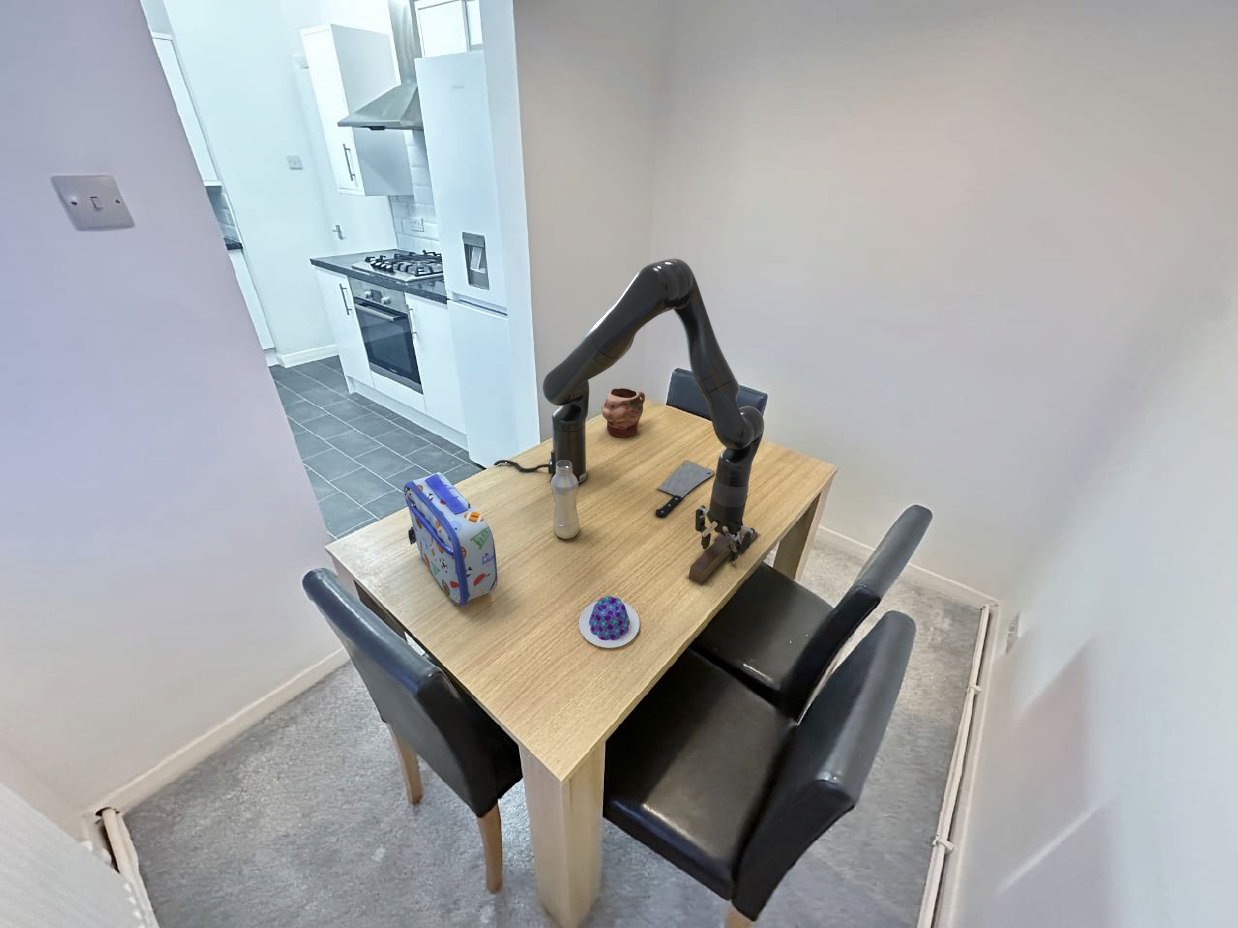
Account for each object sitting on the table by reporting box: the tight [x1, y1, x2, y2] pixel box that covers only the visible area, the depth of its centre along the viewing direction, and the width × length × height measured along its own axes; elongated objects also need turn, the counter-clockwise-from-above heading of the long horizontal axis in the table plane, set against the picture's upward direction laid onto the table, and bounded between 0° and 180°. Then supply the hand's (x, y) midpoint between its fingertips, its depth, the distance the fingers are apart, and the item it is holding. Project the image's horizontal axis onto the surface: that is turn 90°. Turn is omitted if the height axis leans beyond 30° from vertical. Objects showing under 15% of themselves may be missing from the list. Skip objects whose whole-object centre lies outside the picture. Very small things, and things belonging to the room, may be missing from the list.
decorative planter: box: [600, 387, 646, 438], centre depth 166 cm, size 20×12×14 cm, turn 143°
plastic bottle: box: [550, 460, 581, 540], centre depth 116 cm, size 6×7×20 cm
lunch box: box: [403, 471, 498, 607], centre depth 103 cm, size 28×10×22 cm, turn 42°
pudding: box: [578, 595, 641, 649], centre depth 96 cm, size 12×12×5 cm
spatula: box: [688, 531, 758, 585], centre depth 115 cm, size 24×7×4 cm, turn 141°
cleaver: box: [655, 460, 714, 518], centre depth 139 cm, size 29×1×10 cm
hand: (718, 553), depth 115 cm, fingers open, 6 cm apart
